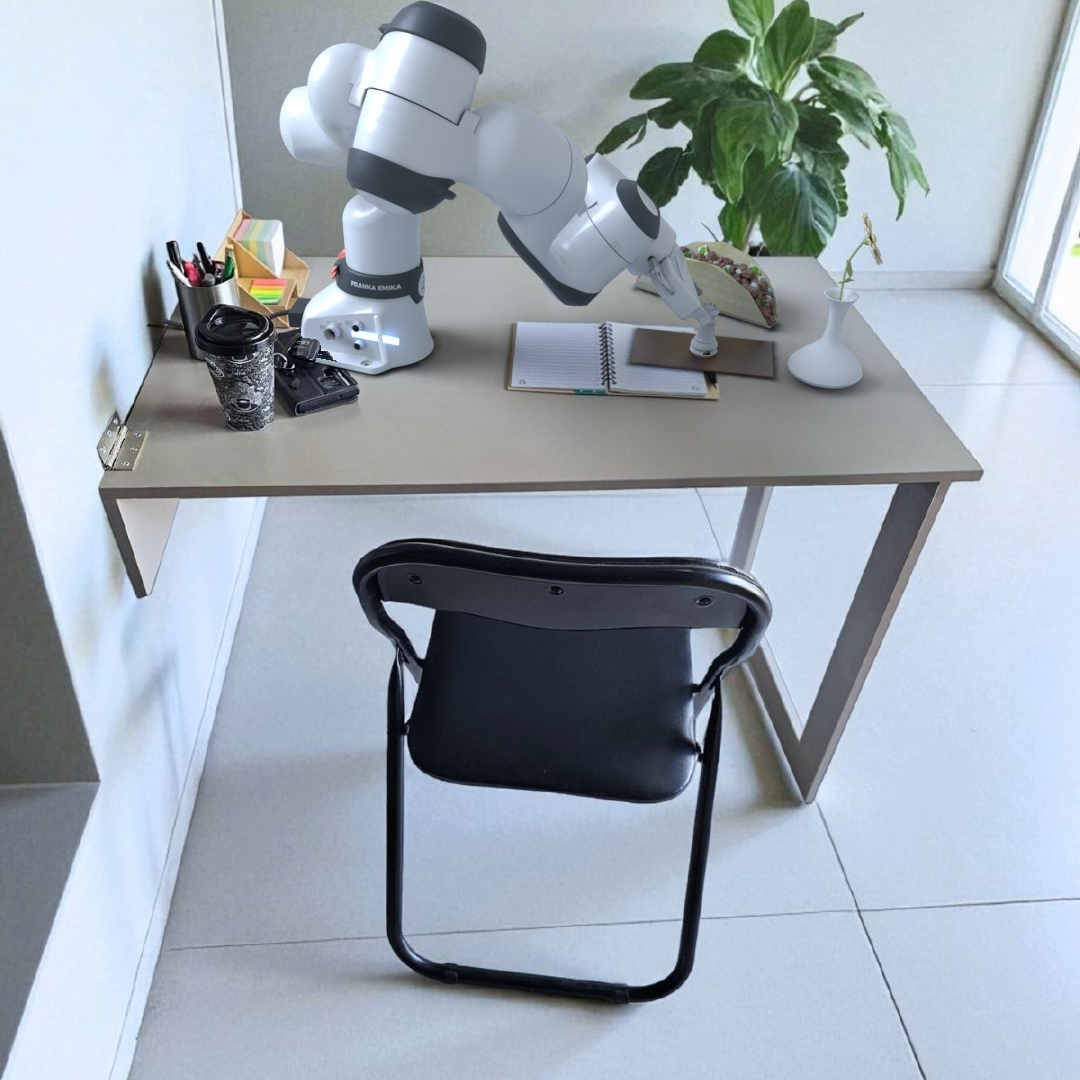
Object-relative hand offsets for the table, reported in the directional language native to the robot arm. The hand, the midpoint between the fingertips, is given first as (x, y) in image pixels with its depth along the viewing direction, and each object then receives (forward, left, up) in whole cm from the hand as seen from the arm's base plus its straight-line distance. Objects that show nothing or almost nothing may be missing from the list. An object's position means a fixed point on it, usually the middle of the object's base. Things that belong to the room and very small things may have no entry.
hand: (702, 307), depth 162 cm
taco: (0, +17, -8) cm, 19 cm away
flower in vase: (+20, -3, -8) cm, 22 cm away
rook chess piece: (+1, -1, -7) cm, 8 cm away
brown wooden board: (+1, 0, -8) cm, 8 cm away
